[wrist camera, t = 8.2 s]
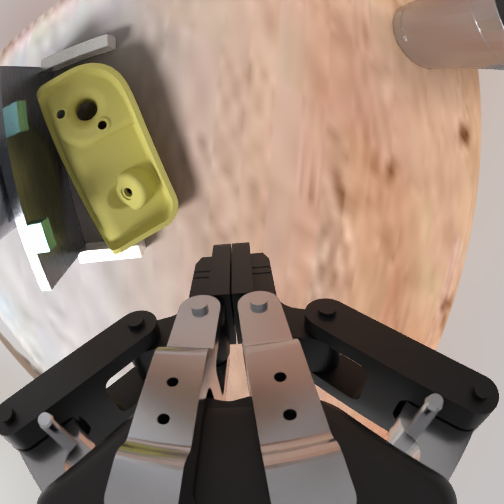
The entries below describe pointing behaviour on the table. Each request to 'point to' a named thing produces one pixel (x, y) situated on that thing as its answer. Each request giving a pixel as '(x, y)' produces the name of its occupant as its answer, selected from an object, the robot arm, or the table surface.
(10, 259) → the table surface
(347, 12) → the table surface
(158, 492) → the robot arm
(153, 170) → the plastic component
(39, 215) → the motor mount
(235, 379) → the table surface
